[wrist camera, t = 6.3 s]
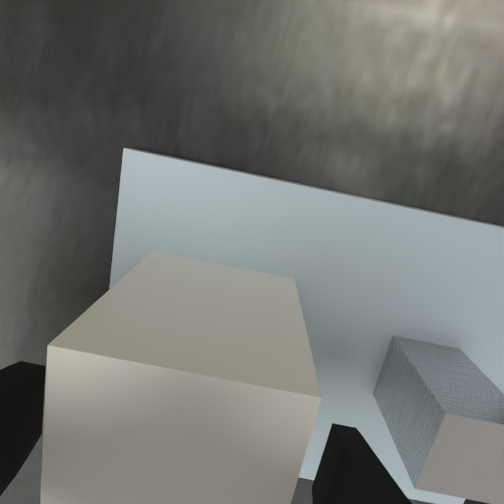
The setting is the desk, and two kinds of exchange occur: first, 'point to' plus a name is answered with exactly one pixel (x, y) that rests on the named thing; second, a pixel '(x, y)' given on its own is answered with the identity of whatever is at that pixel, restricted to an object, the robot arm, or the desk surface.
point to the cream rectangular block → (181, 390)
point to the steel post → (443, 420)
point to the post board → (329, 276)
